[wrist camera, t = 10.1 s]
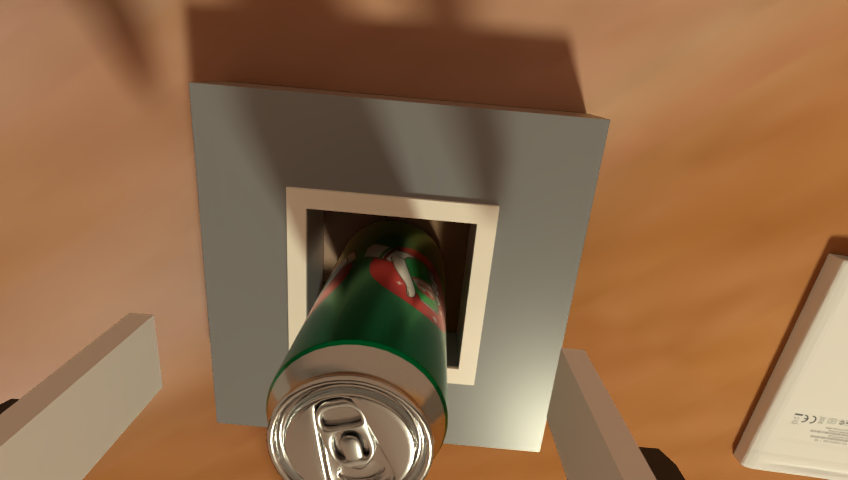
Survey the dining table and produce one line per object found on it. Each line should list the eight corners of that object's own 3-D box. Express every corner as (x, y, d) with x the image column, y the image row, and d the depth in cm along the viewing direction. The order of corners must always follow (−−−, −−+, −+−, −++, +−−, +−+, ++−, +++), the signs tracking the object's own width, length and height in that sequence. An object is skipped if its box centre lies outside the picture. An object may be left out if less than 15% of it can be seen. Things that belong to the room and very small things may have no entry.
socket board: (241, 384, 26) (215, 425, 23) (223, 81, 20) (185, 82, 17) (528, 410, 26) (540, 455, 23) (586, 113, 20) (612, 120, 17)
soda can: (359, 319, 24) (288, 534, 13) (330, 229, 23) (220, 385, 11) (454, 299, 24) (467, 507, 12) (431, 206, 22) (422, 346, 11)
